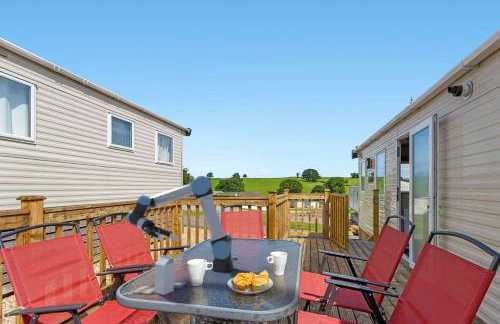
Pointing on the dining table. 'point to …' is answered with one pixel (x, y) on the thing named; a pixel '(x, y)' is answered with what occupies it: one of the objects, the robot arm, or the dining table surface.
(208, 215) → the robot arm
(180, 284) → the label panel
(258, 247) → the dining table surface
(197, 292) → the dining table surface
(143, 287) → the coaster
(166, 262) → the milk carton
